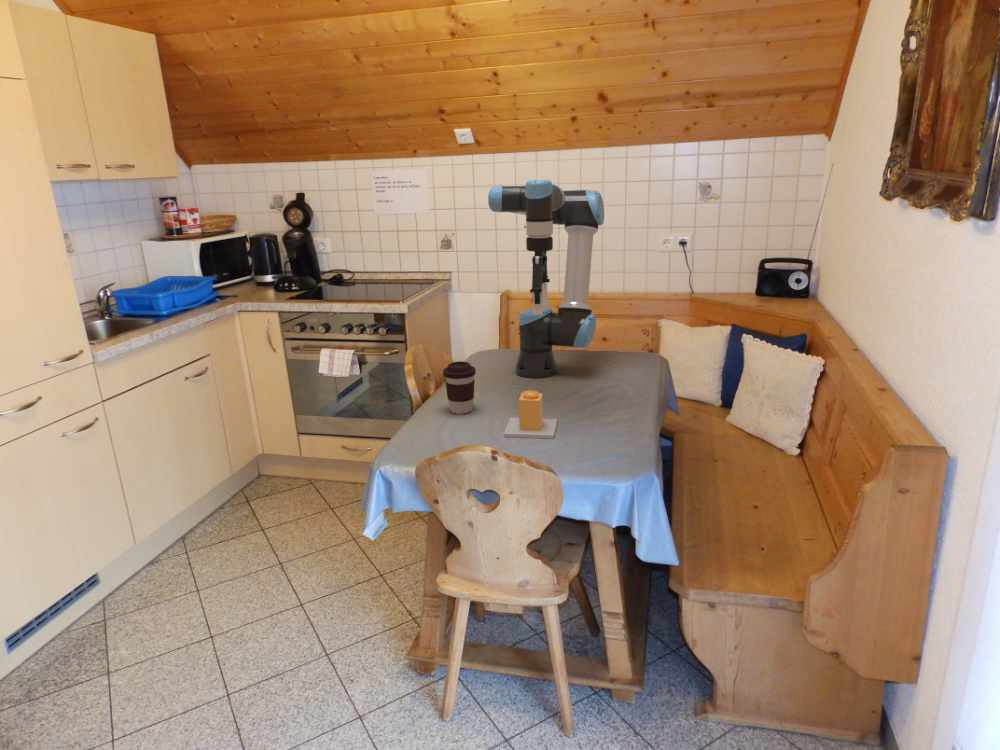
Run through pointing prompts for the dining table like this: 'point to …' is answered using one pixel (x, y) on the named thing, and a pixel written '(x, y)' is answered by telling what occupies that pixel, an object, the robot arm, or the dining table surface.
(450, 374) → the coffee cup
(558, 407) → the dining table surface
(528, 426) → the orange toy brick
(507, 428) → the white pegged board
